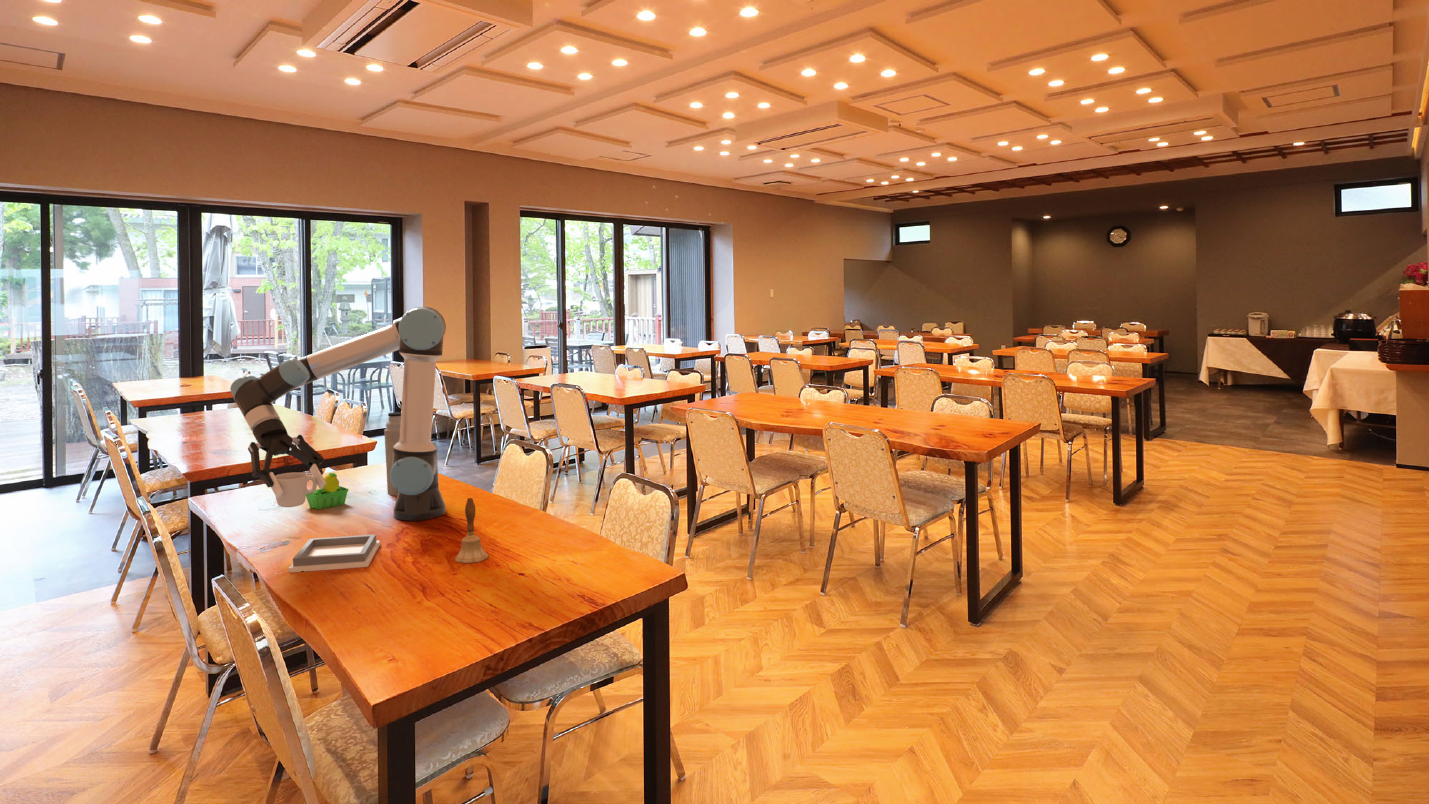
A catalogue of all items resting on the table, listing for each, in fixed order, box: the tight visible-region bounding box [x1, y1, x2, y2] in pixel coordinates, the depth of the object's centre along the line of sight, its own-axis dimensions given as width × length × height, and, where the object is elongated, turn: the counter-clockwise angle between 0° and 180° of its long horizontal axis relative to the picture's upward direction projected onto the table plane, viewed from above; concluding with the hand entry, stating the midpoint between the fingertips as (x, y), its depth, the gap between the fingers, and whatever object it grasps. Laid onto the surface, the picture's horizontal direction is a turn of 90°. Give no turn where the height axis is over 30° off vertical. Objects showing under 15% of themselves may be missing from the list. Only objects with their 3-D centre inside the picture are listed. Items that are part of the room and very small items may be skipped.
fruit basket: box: [306, 472, 350, 510], centre depth 249 cm, size 11×9×11 cm
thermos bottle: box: [383, 411, 401, 496], centre depth 266 cm, size 8×8×28 cm
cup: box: [274, 471, 318, 508], centre depth 205 cm, size 11×8×8 cm
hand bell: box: [454, 497, 489, 564], centre depth 200 cm, size 8×8×16 cm
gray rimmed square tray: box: [288, 533, 381, 573], centre depth 201 cm, size 18×18×3 cm
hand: (302, 490), depth 204 cm, fingers closed on cup, 11 cm apart
